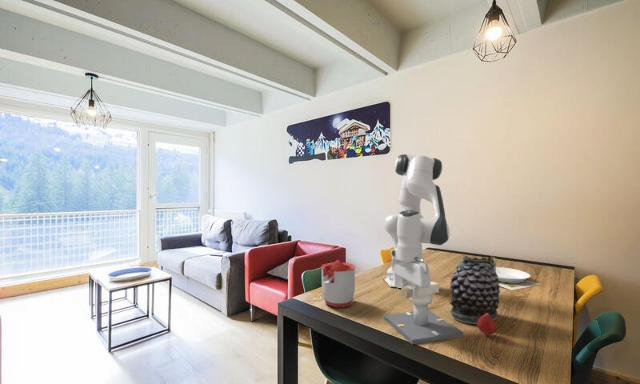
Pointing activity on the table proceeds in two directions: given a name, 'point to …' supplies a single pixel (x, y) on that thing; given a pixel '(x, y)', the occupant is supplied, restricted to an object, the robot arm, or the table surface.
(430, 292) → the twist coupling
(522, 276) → the white plate
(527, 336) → the table surface
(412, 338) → the lock base
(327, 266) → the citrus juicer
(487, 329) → the onion
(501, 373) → the table surface
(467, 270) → the pineapple fairy house
